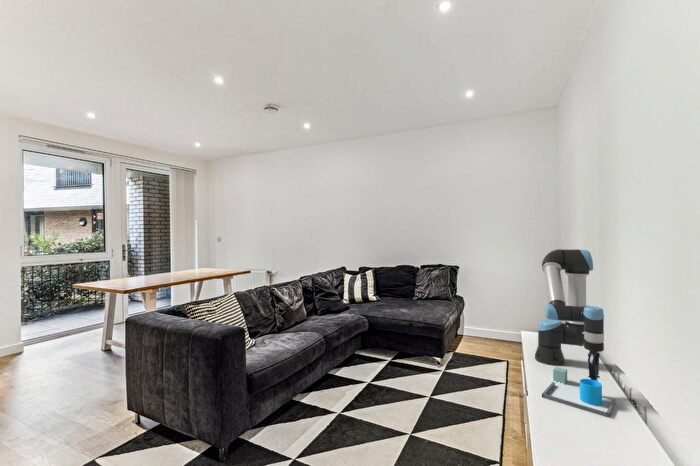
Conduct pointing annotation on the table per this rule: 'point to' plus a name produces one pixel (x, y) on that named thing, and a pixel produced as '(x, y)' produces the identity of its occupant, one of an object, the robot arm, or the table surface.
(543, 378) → the table surface
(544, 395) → the tray frame
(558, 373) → the block
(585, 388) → the mug
